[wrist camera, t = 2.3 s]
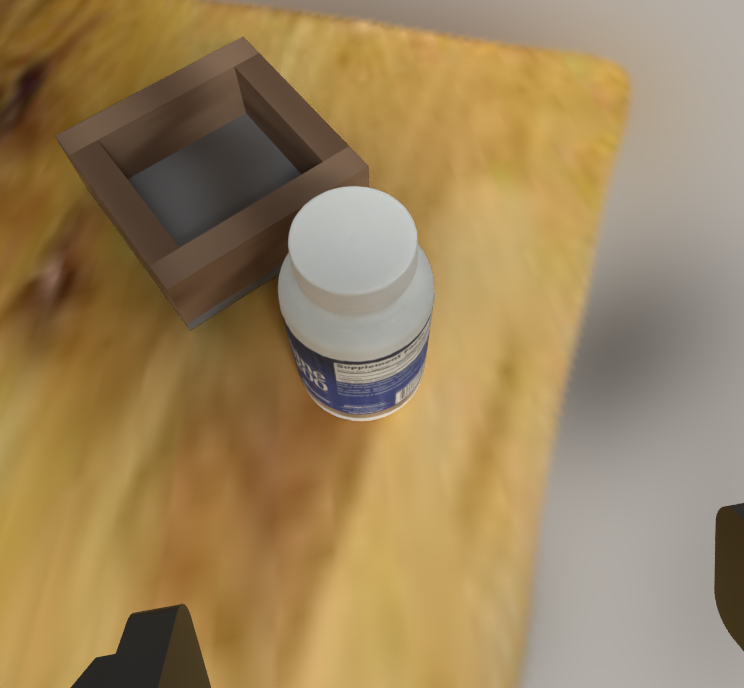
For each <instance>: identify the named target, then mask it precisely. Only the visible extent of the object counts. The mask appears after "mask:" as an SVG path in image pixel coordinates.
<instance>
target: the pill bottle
mask: <svg viewBox="0 0 744 688" xmlns="http://www.w3.org/2000/svg"><path fill="white" fill-rule="evenodd" d="M288 249H289V253H288V254H287V256H286V258H285V260H284V262H283V264H282V267H281V270H280V274H279V279H278V297H279V304H280V310H281V314H282V317H283V320H284V323H285V327H286V330H287V333H288V337H289V340H290V344H291V348H292V351H293V354H294V358H295V360H296V364H297V367H298V370H299V373H300V376H301V378H302V381H303V384H304V386H305V388H306V390H307V392H308V394H309V395H310V396H311V398H312V399H313V400H314V401H315V402H316V403H317V404H318V405H319V406H320V407H321V408H322V409H324V410H325V411H327V412H329V413H330V414H332V415H335V416H337V417H340V418H343V419H348V420H353V421H370V420H375V419H379V418H383V417H385V416H388V415H390V414H392V413H394V412H396V411H397V410H399V409H400V408H401V407H403V406H404V405H405V404H406V403H407V402H408V401H409V400H410V399H411V397H412V396H413V395H414V394H415V392H416V390H417V389H418V387H419V384H420V382H421V379H422V376H423V372H424V367H425V363H426V353H427V346H428V339H429V332H430V325H431V317H432V308H433V303H434V296H435V294H434V279H433V274H432V270H431V266H430V264H429V261H428V259H427V257H426V255H425V253H424V252H423V250H422V249H421V247H420V246H419V245H418V240H417V230H416V227H415V224H414V221H413V219H412V217H411V215H410V214H409V212H408V211H407V209H406V208H405V207H404V206H403V205H402V204H401V203H400V202H399V201H397V200H396V199H395V198H393V197H392V196H390V195H388V194H387V193H384V192H382V191H379V190H377V189H373V188H369V187H361V186H348V187H340V188H335V189H332V190H328V191H326V192H324V193H322V194H320V195H318V196H316V197H314V198H313V199H311V200H310V201H309V202H308V203H306V204H305V205H304V206H303V207H302V209H301V210H300V211H299V212H298V213H297V215H296V216H295V218H294V220H293V222H292V224H291V227H290V231H289V237H288Z"/></svg>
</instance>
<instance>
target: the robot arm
mask: <svg viewBox="0 0 744 688" xmlns="http://www.w3.org/2000/svg"><path fill="white" fill-rule="evenodd" d="M714 589H715V600H716V604H717V608H718V611H719V614H720V616H721V619H722V621H723V623H724V625H725V627H726V629H727V630H728V632H729V633H730V635H731V636H732V637H733V639H734V640H735V641H736V642H737V643H738V645H739V646H740V647H741V648H742V650H743V651H744V503H741V504H736V505H731V506H725V507H722V508H720V510H719V511H718V513H717V516H716V535H715V588H714ZM71 688H211V686H210V682H209V678H208V675H207V671H206V668H205V664H204V661H203V657H202V654H201V650H200V647H199V643H198V640H197V636H196V633H195V629H194V626H193V622H192V619H191V615H190V612H189V610H188V608H187V607H186V605H184V604H180V605H175V606H169V607H164V608H158V609H153V610H147V611H142V612H136V613H132V614H131V615H130V617H129V618H128V620H127V623H126V626H125V629H124V632H123V635H122V637H121V640H120V643H119V646H118V649H117V652H116V654H113V655H107V656H102V657H97V658H95V659H94V660H93V662H92V663H91V664H90V665H89V666H88V668H87V669H86V670H85V671H84V672H83V674H82V675H81V676H80V677H79V678H78V679H77V681H76V682H75V683H74V684H73V685H72V687H71Z"/></svg>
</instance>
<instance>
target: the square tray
mask: <svg viewBox="0 0 744 688" xmlns="http://www.w3.org/2000/svg"><path fill="white" fill-rule="evenodd" d="M55 137H56V139H57V140H58V142H59V144H60V145H61V147H62V149H63V150H64V152H65V153H66V155H67V157H68V158H69V160H70V162H71V163H72V165H73V166H74V168H75V170H76V171H77V173H78V174H79V176H80V178H81V179H82V181H83V183H84V184H85V186H86V187H87V189H88V190H89V192H90V193H91V194H92V196H93V197H94V198H95V200H96V201H97V203H98V204H99V205H100V207H101V208H102V209H103V211H104V212H105V214H106V215H107V216H108V218H109V219H110V220H111V222H112V223H113V225H114V226H115V227H116V229H117V230H118V232H119V233H120V234H121V236H122V237H123V238H124V240H125V241H126V243H127V244H128V245H129V247H130V248H131V249H132V251H133V252H134V254H135V255H136V256H137V258H138V259H139V260H140V262H141V263H142V265H143V266H144V267H145V269H146V270H147V272H148V273H149V274H150V276H151V277H152V278H153V280H154V281H155V283H156V284H157V285H158V287H159V288H160V289H161V291H162V292H163V294H164V295H165V296H166V298H167V299H168V300H169V302H170V303H171V305H172V306H173V307H174V309H175V310H176V311H177V313H178V314H179V316H180V317H181V318H182V320H183V321H184V323H185V324H186V325H187V327H188V328H189V329H190V330H192V329H193V328H195V327H196V326H198V325H199V324H201V323H203V322H204V321H206V320H207V319H209V318H210V317H212V316H214V315H215V314H217V313H218V312H220V311H221V310H223V309H225V308H226V307H228V306H229V305H231V304H232V303H234V302H236V301H237V300H239V299H240V298H242V297H243V296H245V295H247V294H248V293H250V292H251V291H253V290H254V289H256V288H258V287H259V286H261V285H262V284H264V283H265V282H267V281H269V280H270V279H272V278H273V277H275V276H276V275H278V274H280V270H281V267H282V264H283V262H284V260H285V258H286V256H287V254H288V253H289V249H288V237H289V231H290V227H291V224H292V222H293V220H294V218H295V216H296V215H297V213H298V212H299V211H300V210H301V209H302V207H303V206H304V205H305V204H306V203H308V202H309V201H310V200H311V199H313V198H314V197H316V196H318V195H320V194H322V193H324V192H326V191H328V190H332V189H335V188H340V187H348V186H361V187H369V168H368V165H367V164H366V163H365V162H364V161H363V160H362V159H361V158H360V157H359V156H358V155H357V154H356V153H355V152H354V151H353V150H352V149H351V148H350V146H349V145H348V144H347V143H346V142H345V141H344V140H343V139H342V138H341V137H340V136H339V135H338V134H337V133H336V132H335V131H334V130H333V129H332V128H331V127H330V126H329V125H328V124H327V123H326V122H325V121H324V120H323V119H322V118H321V116H320V115H319V114H318V113H317V112H316V111H315V110H314V109H313V108H312V107H311V106H310V105H309V104H308V103H307V102H306V101H305V100H304V99H303V98H302V97H301V96H300V95H299V94H298V93H297V92H296V91H295V90H294V89H293V88H292V86H291V85H290V84H289V83H288V82H287V81H286V80H285V79H284V78H283V77H282V76H281V75H280V74H279V73H278V72H277V71H276V70H275V69H274V68H273V67H272V66H271V65H270V64H269V63H268V62H267V61H266V60H265V59H264V58H263V56H262V55H261V54H260V53H259V52H258V51H257V50H256V49H255V48H254V47H253V46H252V45H251V44H250V43H249V42H248V41H247V40H246V39H245V38H244V37H241V38H240V39H238V40H236V41H234V42H232V43H230V44H228V45H226V46H224V47H223V48H221V49H219V50H217V51H215V52H213V53H211V54H209V55H207V56H205V57H204V58H202V59H200V60H198V61H196V62H194V63H192V64H190V65H188V66H186V67H185V68H183V69H181V70H179V71H177V72H175V73H173V74H171V75H169V76H167V77H166V78H164V79H162V80H160V81H158V82H156V83H154V84H152V85H150V86H149V87H147V88H145V89H143V90H141V91H139V92H137V93H135V94H133V95H131V96H130V97H128V98H126V99H124V100H122V101H120V102H118V103H116V104H114V105H112V106H111V107H109V108H107V109H105V110H103V111H101V112H99V113H97V114H95V115H93V116H92V117H90V118H88V119H86V120H84V121H82V122H80V123H78V124H76V125H75V126H73V127H71V128H69V129H67V130H65V131H63V132H61V133H59V134H57V135H56V136H55Z"/></svg>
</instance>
